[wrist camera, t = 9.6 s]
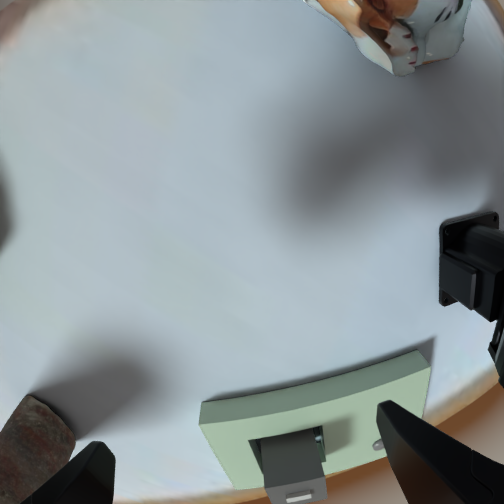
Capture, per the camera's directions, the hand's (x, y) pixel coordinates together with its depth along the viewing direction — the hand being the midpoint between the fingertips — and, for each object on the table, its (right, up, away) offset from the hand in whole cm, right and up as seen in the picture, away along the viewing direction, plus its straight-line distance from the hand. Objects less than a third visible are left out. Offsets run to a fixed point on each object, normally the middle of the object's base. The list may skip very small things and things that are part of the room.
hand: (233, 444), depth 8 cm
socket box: (+7, -9, +15) cm, 19 cm away
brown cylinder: (-21, -12, +15) cm, 28 cm away
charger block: (+4, -10, +16) cm, 19 cm away
